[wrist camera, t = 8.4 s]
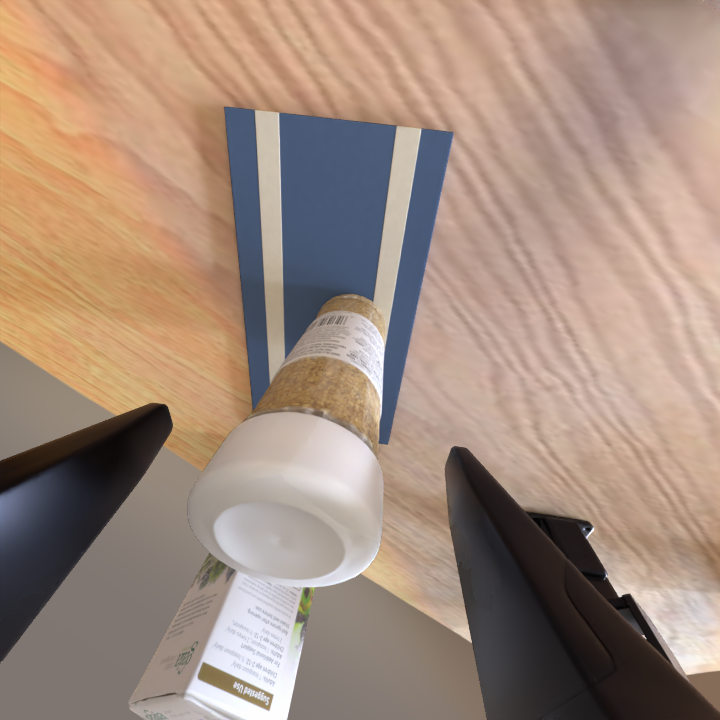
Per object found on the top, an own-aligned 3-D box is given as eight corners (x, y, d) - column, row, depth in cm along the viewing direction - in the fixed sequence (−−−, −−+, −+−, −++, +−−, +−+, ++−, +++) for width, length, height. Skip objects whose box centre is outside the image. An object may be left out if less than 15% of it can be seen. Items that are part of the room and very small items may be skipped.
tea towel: (388, 441, 23) (387, 445, 23) (256, 422, 23) (254, 425, 23) (452, 134, 13) (453, 131, 13) (227, 108, 14) (223, 105, 13)
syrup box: (297, 503, 28) (220, 751, 15) (250, 469, 26) (118, 717, 13) (338, 479, 26) (288, 745, 13) (289, 441, 24) (176, 704, 11)
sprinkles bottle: (323, 359, 19) (217, 590, 8) (311, 293, 17) (139, 472, 5) (389, 356, 19) (387, 602, 7) (385, 288, 17) (373, 475, 5)
